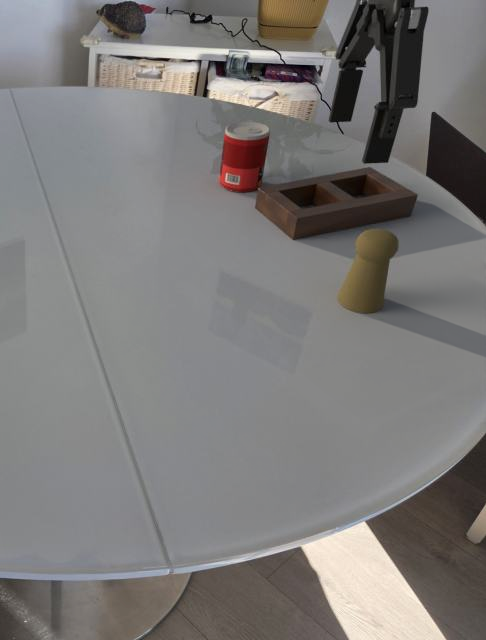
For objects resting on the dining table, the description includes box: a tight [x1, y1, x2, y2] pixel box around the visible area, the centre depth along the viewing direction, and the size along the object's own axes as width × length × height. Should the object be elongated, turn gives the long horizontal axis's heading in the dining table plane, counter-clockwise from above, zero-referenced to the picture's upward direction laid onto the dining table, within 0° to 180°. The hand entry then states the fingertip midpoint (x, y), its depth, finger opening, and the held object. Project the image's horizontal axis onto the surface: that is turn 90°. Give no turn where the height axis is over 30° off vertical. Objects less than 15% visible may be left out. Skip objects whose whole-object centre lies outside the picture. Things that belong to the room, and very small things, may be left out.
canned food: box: [218, 121, 271, 193], centre depth 121 cm, size 8×8×11 cm
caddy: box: [254, 166, 419, 241], centre depth 112 cm, size 12×22×4 cm, turn 104°
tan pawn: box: [337, 228, 400, 314], centre depth 89 cm, size 6×6×11 cm
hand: (356, 140), depth 81 cm, fingers open, 13 cm apart
